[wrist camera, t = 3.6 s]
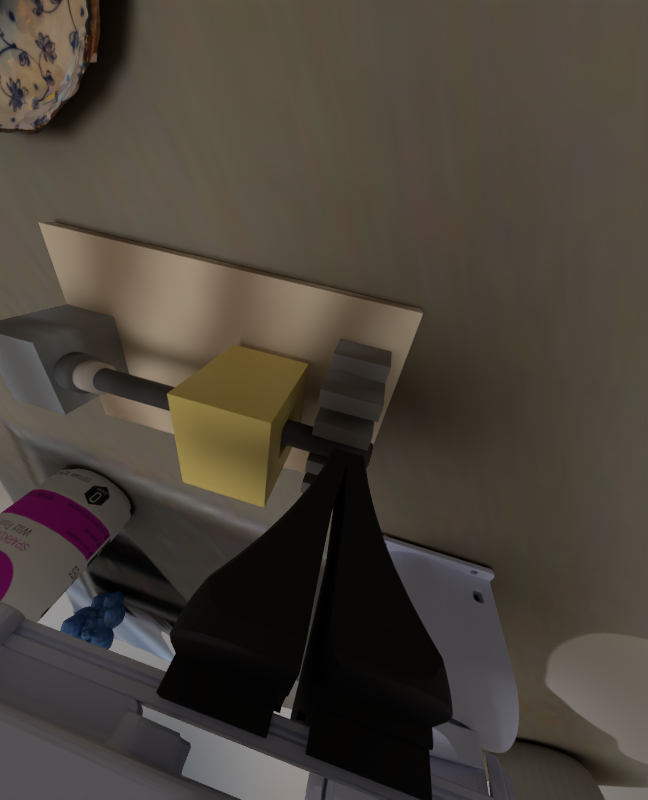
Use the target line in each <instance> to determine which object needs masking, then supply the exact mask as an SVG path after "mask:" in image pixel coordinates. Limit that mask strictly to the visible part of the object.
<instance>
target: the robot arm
mask: <svg viewBox="0 0 648 800" xmlns="http://www.w3.org/2000/svg"><path fill="white" fill-rule="evenodd" d="M333 507H334V508H333ZM332 510H333V515H332V522H331V530H330V537H329V544H328V552H327V559H326V565H325V570H324V575H323V579H322V584H321V588H320V593H319V597H318V602H317V606H316V610H315V615H314V619H313V624H312V628H311V632H310V637H309V641H308V645H307V650H306V654H305V658H304V662H303V667H302V671H301V675H300V679H299V684H298V688H297V692H296V696H295V700H294V704H293V709H292V713H291V718H290V719H287V718H285V717H282V716H280V715H277V714H274V713H273V711H276V712H278V713H280V710H281V706H282V704H283V702H284V700H285V698H286V696H287V697H288V695H289V693H290V691H291V689H292V687H293V685H294V683H295V681H296V679H297V677H298V675H299V672H300V668H301V664H302V659H303V654H304V650H305V645H306V640H307V635H308V629H309V624H310V618H311V613H312V608H313V602H314V597H315V592H316V586H317V581H318V576H319V571H320V566H321V561H322V556H323V551H324V546H325V541H326V536H327V531H328V527H329V522H330V517H331V513H332ZM493 578H494V573H493V571H492V570H491V569H489V568H486V567H482V566H479V565H476V564H473V563H470V562H466V561H463V560H460V559H457V558H454V557H450V556H447V555H444V554H441V553H438V552H434V551H431V550H428V549H425V548H421V547H418V546H415V545H412V544H409V543H405V542H402V541H399V540H396V539H393V538H389V537H386V536H383V535H382V532H381V529H380V526H379V523H378V520H377V517H376V513H375V510H374V506H373V502H372V498H371V494H370V490H369V485H368V479H367V473H366V465H365V458H364V457H363V456H361V455H357V454H354V453H350V452H347V451H343V450H340V449H337V448H334V449H332V451H331V454H330V456H329V458H328V460H327V462H326V463H325V465H324V467H323V468H322V470H321V471H320V473H319V474H318V475H317V477H316V478H315V480H314V481H313V482H312V484H311V485H310V486H309V487H308V489H307V490H306V491H305V492H304V493H303V495H302V496H301V497H300V498H299V499H298V500H297V502H296V503H295V504H294V505H293V506H292V507H291V508H290V509H289V510H288V511H287V512H286V513H285V514H284V515H283V516H282V517H281V518H280V519H279V520H278V521H277V522H276V523H275V524H274V525H273V526H272V527H271V528H270V529H269V530H267V531H266V532H265V533H264V534H263V535H262V536H261V537H259V538H258V539H257V540H256V541H255V542H253V543H252V544H251V545H250V546H248V547H247V548H246V549H245V550H244V551H242V552H241V553H240V554H239V555H237V556H236V557H235V558H233V559H232V560H230V561H229V562H228V563H226V564H225V565H224V566H222V567H221V568H219V569H218V570H217V571H215V572H214V573H213V574H211V575H210V576H209V577H208V578H207V579H206V580H205V581H204V583H203V584H202V585H201V586H200V587H199V588H198V590H197V591H196V592H195V593H194V595H193V596H192V597H191V599H190V600H189V602H188V603H187V605H186V606H185V607H184V609H183V611H182V612H181V614H180V616H179V618H178V620H177V621H176V623H175V625H174V627H173V629H172V630H171V632H170V639H171V643H172V645H173V647H174V649H175V652H176V654H175V656H174V658H173V660H172V662H171V664H170V666H169V668H168V670H167V672H165V671H162V670H159V669H157V668H154V667H152V666H149V665H146V664H144V663H141V662H138V661H136V660H133V659H131V658H128V657H126V656H123V655H120V654H118V653H115V652H113V651H110V650H107V649H105V648H102V647H99V646H97V645H94V644H92V643H89V642H86V641H84V640H81V639H79V638H76V637H73V636H71V635H68V634H66V633H63V632H60V631H58V630H55V629H52V628H50V627H47V626H45V625H42V624H39V623H37V622H34V621H32V620H29V619H26V618H25V615H24V614H23V613H21V612H20V611H19V610H17V609H16V608H14V607H12V606H10V605H8V604H6V603H3V602H1V601H0V800H241V799H238V798H236V797H233V796H231V795H229V794H226V793H224V792H221V791H219V790H216V789H214V788H212V787H209V786H207V785H204V784H202V783H199V782H197V781H195V780H192V779H190V778H187V777H185V776H182V775H181V773H182V769H183V766H184V763H185V761H186V758H187V756H188V753H189V751H190V748H191V747H190V743H189V742H187V741H186V740H184V739H182V738H181V737H180V734H179V733H178V732H175V731H173V730H171V729H169V728H166V727H164V726H162V725H160V724H158V723H156V722H153V721H151V720H149V719H147V718H145V717H142V713H143V710H142V706H141V705H143V706H145V707H148V708H150V709H153V710H155V711H158V712H161V713H163V714H166V715H168V716H170V717H173V718H176V719H178V720H181V721H183V722H186V723H188V724H191V725H193V726H196V727H198V728H201V729H203V730H206V731H208V732H211V733H213V734H216V735H218V736H221V737H224V738H226V739H228V740H231V741H233V742H236V743H238V744H241V745H244V746H246V747H249V748H251V749H253V750H256V751H259V752H261V753H264V754H266V755H269V756H271V757H274V758H276V759H279V760H281V761H284V762H286V763H289V764H291V765H294V766H296V767H299V768H301V769H304V770H306V771H309V772H310V773H309V778H308V783H307V789H306V796H305V800H518V799H517V795H516V791H515V787H514V784H513V781H512V778H511V777H510V776H509V774H508V773H507V772H506V770H505V769H504V768H503V767H502V766H501V764H500V762H499V759H498V758H497V757H496V756H495V755H491V754H487V753H486V760H487V766H488V772H489V779H490V783H489V787H490V793H491V796H489V794H488V787H487V781H486V775H485V769H484V762H483V756H482V750H481V748H482V749H484V750H487V751H490V752H494V753H504V752H506V751H507V750H509V749H510V748H511V746H512V745H513V743H514V741H515V739H516V736H517V731H518V722H519V705H518V694H517V688H516V682H515V678H514V673H513V669H512V665H511V662H510V658H509V654H508V650H507V646H506V643H505V639H504V635H503V631H502V627H501V623H500V620H499V616H498V612H497V608H496V604H495V601H494V597H493V593H492V589H491V585H490V581H491V580H492V579H493Z"/></svg>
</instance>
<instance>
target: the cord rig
mask: <svg viewBox="0 0 648 800" xmlns="http://www.w3.org/2000/svg"><path fill="white" fill-rule="evenodd" d="M38 223H39V226H40V228H41V231H42V234H43V237H44V240H45V243H46V245H47V248H48V251H49V254H50V257H51V260H52V263H53V265H54V268H55V271H56V274H57V277H58V280H59V282H60V285H61V288H62V291H63V294H64V297H65V299H66V302H67V305H62V306H58V307H54V308H50V309H46V310H41V311H37V312H33V313H29V314H25V315H21V316H16V317H12V318H8V319H4V320H0V373H1V375H2V377H3V379H4V380H5V382H6V384H7V386H8V388H9V389H10V391H11V393H12V395H13V396H14V398H15V400H19V401H22V402H25V403H28V404H32V405H35V406H38V407H42V408H45V409H48V410H51V411H55V412H58V413H61V414H65V415H66V414H67V413H69V412H71V411H73V410H74V409H76V408H78V407H80V406H81V405H83V404H85V403H87V402H88V401H90V400H92V399H94V398H95V397H97V396H100V399H101V402H102V405H103V407H104V410H105V413H106V414H108V415H111V416H115V417H118V418H121V419H125V420H128V421H131V422H135V423H138V424H141V425H145V426H148V427H151V428H155V429H158V430H162V431H165V432H168V433H172V434H174V430H173V424H172V419H171V413H170V408H169V402H168V397H167V393H168V392H170V391H171V390H173V389H174V388H175V387H177V386H178V385H179V384H181V383H182V382H183V381H185V380H186V379H188V378H189V377H190V376H192V375H193V374H194V373H196V372H197V371H199V370H200V369H201V368H203V367H204V366H205V365H207V364H208V363H209V362H211V361H212V360H214V359H215V358H216V357H218V356H219V355H220V354H222V353H223V352H224V351H226V350H227V349H229V348H230V347H231V346H233V345H238V346H242V347H246V348H250V349H253V350H257V351H261V352H265V353H269V354H272V355H276V356H280V357H284V358H288V359H291V360H295V361H299V362H303V363H307V364H309V365H308V371H307V378H306V384H305V390H304V397H303V403H302V409H301V416H300V422H296V421H293V420H289V419H288V420H287V421H286V423H285V425H284V427H283V429H282V434H281V443H280V444H284V445H287V446H291V447H292V449H291V451H290V453H289V456H288V458H287V460H286V462H285V464H284V466H283V467H285V468H288V469H292V470H295V471H298V472H302V473H305V477H304V479H303V482H302V487H301V492H303V493H304V492H305V491H306V490H307V489H308V487H309V486H310V485H311V484H312V482H313V481H314V480H315V478H316V477H317V475H318V474H319V473H320V471H321V470H322V468H323V467H324V465H325V463H326V462H327V460H328V458H329V456H330V454H331V451H332V449H334V448H337V449H340V450H343V451H347V452H350V453H354V454H357V455H361V456H363V457H364V458H365V465H366V468H367V467H368V464H369V461H370V458H371V454H372V449H373V445H374V442H375V439H376V437H377V434H378V432H379V429H380V426H381V424H382V421H383V418H384V416H385V413H386V410H387V408H388V405H389V403H390V400H391V397H392V395H393V392H394V389H395V387H396V384H397V381H398V379H399V376H400V373H401V371H402V368H403V366H404V363H405V360H406V358H407V355H408V352H409V350H410V347H411V344H412V342H413V339H414V337H415V334H416V331H417V329H418V326H419V323H420V321H421V318H422V315H423V311H422V309H420V308H416V307H412V306H407V305H403V304H399V303H395V302H390V301H386V300H382V299H378V298H373V297H369V296H365V295H361V294H357V293H352V292H348V291H344V290H340V289H335V288H331V287H327V286H323V285H318V284H314V283H310V282H306V281H301V280H297V279H293V278H289V277H284V276H280V275H276V274H272V273H268V272H263V271H259V270H255V269H251V268H246V267H242V266H238V265H234V264H229V263H225V262H221V261H217V260H212V259H208V258H204V257H200V256H195V255H191V254H187V253H183V252H178V251H174V250H170V249H166V248H162V247H157V246H153V245H149V244H145V243H140V242H136V241H132V240H128V239H123V238H119V237H115V236H111V235H106V234H102V233H98V232H94V231H89V230H85V229H81V228H77V227H73V226H68V225H64V224H60V223H56V222H38Z"/></svg>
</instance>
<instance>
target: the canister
mask: <svg viewBox="0 0 648 800" xmlns="http://www.w3.org/2000/svg"><path fill="white" fill-rule="evenodd" d="M489 754H491V755H495V756H496V757H497V758H498V759H499V762H500V764H501V766H502V767H503V768H504V769H505V770H506V772H507V773H508V774H509V776H510V777H511V778H512V781H513V784H514V787H515V791H516V795H517V799H518V800H605V799H604V797H603V795H602V793H601V791H600V789H599V787H598V785H597V783H596V782H595V780H594V779H593V777H592V776H591V774H590V773H589V772H588V771H587V769H586V768H585V767H584V766H583V765H582V764H581V763H580V762H578V761H577V760H575V759H574V758H572V757H570V756H568V755H566V754H564V753H561V752H559V751H557V750H553V749H551V748H547V747H544V746H540V745H536V744H532V743H527V742H520V741H514V743H513V745H512V746H511V748H510V749H509V750H507V751H506V752H504V753H494V752H490V751H489ZM488 773H489V772H488ZM489 783H490V779H489ZM490 796H491V793H490Z"/></svg>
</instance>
